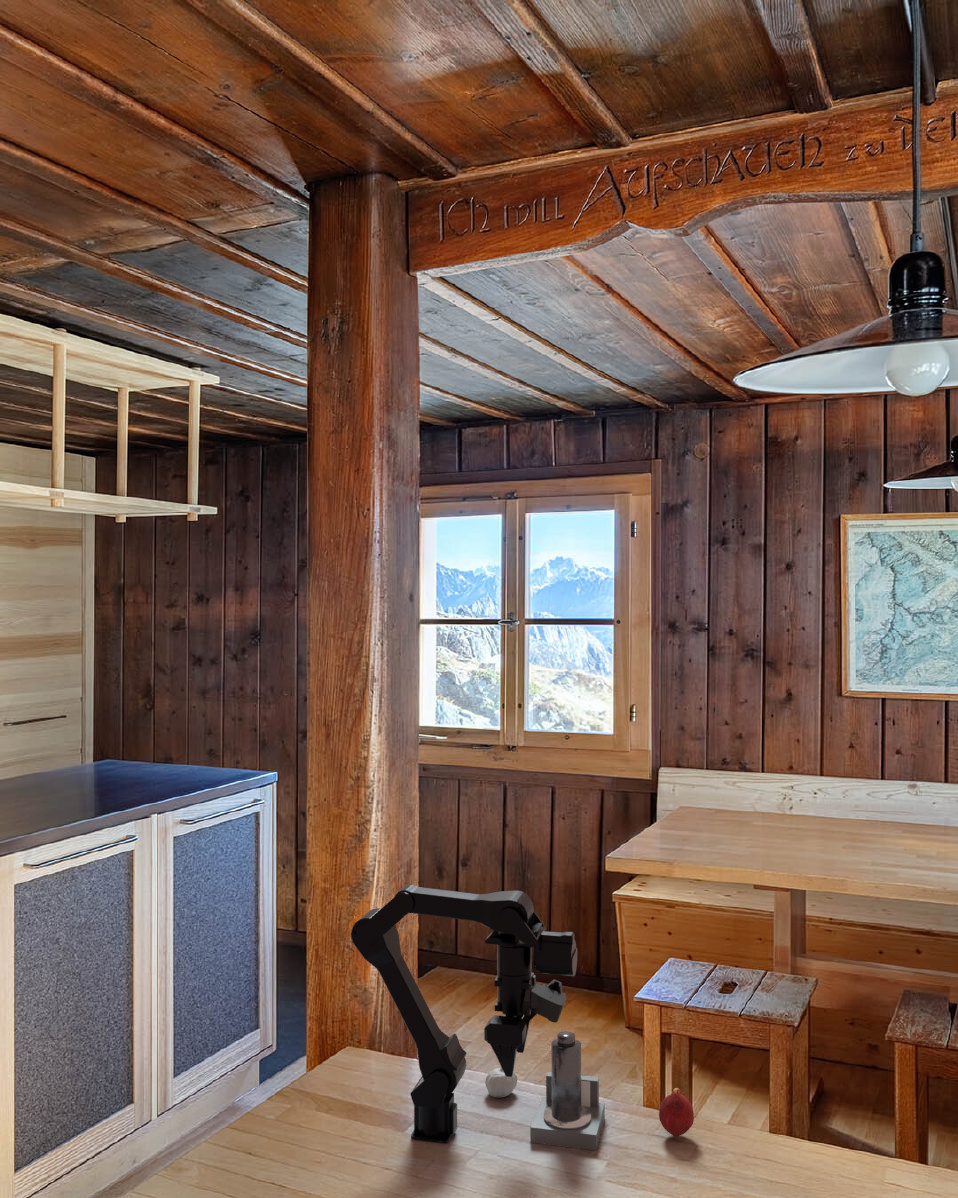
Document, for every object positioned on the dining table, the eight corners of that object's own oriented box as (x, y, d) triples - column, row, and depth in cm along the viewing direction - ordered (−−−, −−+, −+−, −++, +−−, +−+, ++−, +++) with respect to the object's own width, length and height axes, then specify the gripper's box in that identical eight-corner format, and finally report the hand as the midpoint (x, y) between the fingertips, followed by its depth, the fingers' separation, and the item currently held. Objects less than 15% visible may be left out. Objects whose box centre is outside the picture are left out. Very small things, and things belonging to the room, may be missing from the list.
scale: (530, 1142, 176) (530, 1100, 175) (542, 1111, 186) (542, 1071, 186) (596, 1150, 173) (596, 1107, 173) (604, 1118, 184) (604, 1078, 184)
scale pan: (539, 1127, 176) (539, 1123, 176) (548, 1104, 183) (548, 1101, 183) (587, 1132, 174) (587, 1129, 174) (594, 1109, 181) (594, 1106, 181)
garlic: (507, 1084, 196) (507, 1056, 196) (522, 1096, 192) (522, 1068, 192) (479, 1092, 193) (479, 1064, 193) (494, 1104, 189) (494, 1075, 189)
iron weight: (554, 1122, 176) (553, 1042, 176) (549, 1108, 181) (549, 1029, 181) (583, 1121, 176) (583, 1040, 176) (578, 1106, 181) (578, 1028, 181)
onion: (693, 1147, 174) (693, 1098, 174) (658, 1144, 175) (658, 1095, 175) (693, 1129, 179) (693, 1082, 179) (659, 1126, 181) (659, 1080, 181)
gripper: (552, 995, 165) (553, 1095, 165) (571, 955, 183) (571, 1045, 183) (483, 989, 167) (483, 1087, 167) (508, 950, 185) (508, 1039, 185)
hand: (514, 1064), depth 176 cm, fingers open, 9 cm apart
